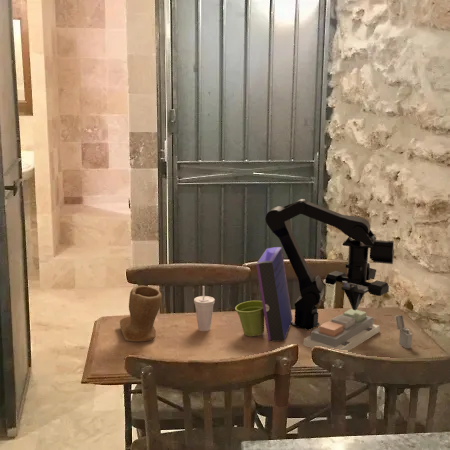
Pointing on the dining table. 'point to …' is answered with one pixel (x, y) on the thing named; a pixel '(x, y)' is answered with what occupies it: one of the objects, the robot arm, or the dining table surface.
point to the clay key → (331, 328)
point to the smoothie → (204, 311)
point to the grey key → (344, 321)
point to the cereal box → (274, 293)
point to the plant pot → (251, 317)
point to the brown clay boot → (141, 314)
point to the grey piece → (344, 336)
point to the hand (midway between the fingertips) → (354, 309)
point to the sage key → (355, 315)
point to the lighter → (403, 332)
